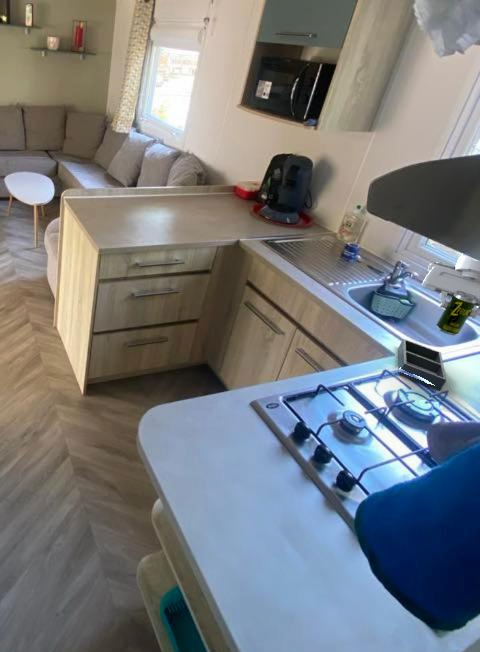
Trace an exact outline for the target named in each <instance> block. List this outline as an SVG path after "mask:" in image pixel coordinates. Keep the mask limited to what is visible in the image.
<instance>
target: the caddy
mask: <svg viewBox="0 0 480 652" xmlns="http://www.w3.org/2000/svg"><path fill="white" fill-rule="evenodd" d="M397 367H398V368H397V370H398V369H399V368H400V367H401V369H403V370H405V371H407V372H409V373H411V374H415V375H417V376H420V377H422V378H424V379H426V380H428V381H429V382H431V383H432V384H434V385H435V386H434V385H431V384H427V383H425V382H424V381H421V380H419V379H416V378H414V377H411V376H409V375H406V374H404V373H401V372H397V373H398V376H401V377H403V378H405V379H408V380H411V381H413V382H416V383H417V384H420V385H423V386H425V387H428V388H430V389H433V390H436V391H438V392H441V390H442V389H443V387H444V386H445V383H446V382H447V376H446V375H447V374H446V370H445V366H444V361H443V355H442V352H441V351H438V350H436V349H432V348H430V347H427V346H425V345H422V344H419V343H417V342H414V341H411V340H408V339H405V338H402V340H401V341H400V344H399V346H398V347H397Z"/></svg>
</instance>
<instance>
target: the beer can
mask: <svg viewBox="0 0 480 652" xmlns="http://www.w3.org/2000/svg"><path fill="white" fill-rule="evenodd" d="M448 302H449V304H448V307H447V308H446V309H443V312H442V314H441V316H440V317H439V319H438V321H437V322H436V329H437V330H438V331H440V332H442V333H444V334H445V335H448V336H457V335H459V334H460V331H461V330H462V329H463V327H464V325H465V323H466V321H467V320H468V318H469V317H468V316H469V315H470V313H471V311H472V310H474V308H475V307H476V306H475V305H476V303H477V297H475V296H473V295H471V294H467V293H464V292H462V291H456V293H454V294H453V296H452V298H451V297H450V299H449V301H448Z"/></svg>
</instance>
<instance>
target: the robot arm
mask: <svg viewBox="0 0 480 652" xmlns="http://www.w3.org/2000/svg"><path fill="white" fill-rule="evenodd" d="M426 270H427V274H426V276H425V278H424V279H423V281H422V283H421V287H422V288H423V289H425V290H428V291H431V292H433V293H437V294H439V295H438V298H439V300H440V305H439V308H442V309H443V310H445V309H446V308H447V307H448V304H449V301H448V300H447V299H446V297H449V298H450V299H451V298H452V296H453V294H454V293H456V291H462V292H464V293H467V294H471V295H473V296H475V297H477V303H476V305H475V306H474V307H476V310H474V309H473V310H472V311H471V313H470V315H469V316H468V318H470V319H473V320H475V319H476V318H477V317H478V314H480V261H475V260H473V259H471V258H469V257H466V256H463V255H462V254H461V255H460V256H459V258H458V259H457V262H456V264H455V266H453V265H450V264H445V263H443V262H439V261H437V262H431V263H429V264H428V266H427V269H426Z"/></svg>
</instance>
